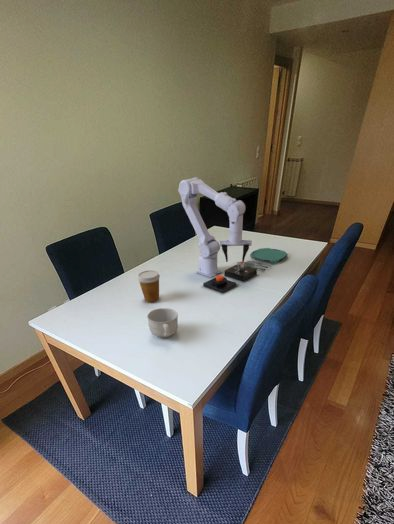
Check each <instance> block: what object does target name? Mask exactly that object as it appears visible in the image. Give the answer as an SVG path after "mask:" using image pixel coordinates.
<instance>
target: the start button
mask: <svg viewBox="0 0 394 524" xmlns="http://www.w3.org/2000/svg"><path fill="white" fill-rule="evenodd" d="M215 277H216V281H223V280H224V277H225V276H224V274H223V275H222V274H217V275H215Z"/></svg>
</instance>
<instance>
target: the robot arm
mask: <svg viewBox="0 0 394 524" xmlns="http://www.w3.org/2000/svg"><path fill="white" fill-rule="evenodd" d="M177 191H178V193H179V195H180V198H181V204H182V207H183V209H184V211H185V214H186V215H187V216H188V219H189V221H190V224H191V225H192V227H193V229H194V231H195V233H196V235H197V238H198V240H199V241H198V244H197V246H198V248H199V254H200V255H199V257H198V271H197V274H201V275H203V276H206V277H209V278H212V277H213V278H214V277H216V276H217V275H220V274H221V273H222V271H221V270H218V256H219V255H218V254H219V253H218V252H220V250H221V249H222V252H223V254H224V258H225V263H228V261H229V260H228V259H229V258H228V257H229V255H228V247H242V258H241V259H242V260H241V262H245V258H246V256H247V253H248V251H249V250H250V247H252V245H253V241H252V240H251V239H249V240H247V239H243V225H244V224H243V222H244V214H245V212H246V208H247V207H246V204H245V203H244V201H243V200H240V199H239V200H237V199H236V198H233V197H232V196H229V195H228V192H226V191H224V192H222V191H221V192H218V191H216V190H215V189H214V188H212V187H210V186H209V185H208V184H206V183H205V182H204V181H203V180H202V179H200V178H199V177H197V176H195V177H192V178H187V179H183V180H181V181H180V182H179V184H178V190H177ZM199 194H201V195H203V196H205V197H207V198H208V199H210V200H212V201H214V203H215V205H216V207H218V208H220V209H221V210H223V211H224V212H226V213H227V216H228V220H229V234H228V235H229V238H228V239H227V240H219V242H218V240H217V239H216V237H215V236H214V235H212V234H210V232H209V231H208V230H209V229H208V228H207V226H206V223H205V222H204V220H203V217H202V215H201V213H200V211H199V209H198V207H197V205H196V200H197V197H199V196H198V195H199Z"/></svg>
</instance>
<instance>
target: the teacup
mask: <svg viewBox="0 0 394 524" xmlns="http://www.w3.org/2000/svg"><path fill="white" fill-rule="evenodd" d="M178 317H179V314H178V312H177V311H176V310H175V309H172V308H170V307H169V308H168V307H162V308H161V307H160V308H155V309H152V310H151V311H149V312H148V313H147V316H146V318H147V323H148V328H149V331H150V333H151V334H152V335H153V336H156V337H157V338H168V337H171V336H172V335H174V334H175V333H176V332H177V330H178V326H179V325H178V322H179V321H178Z"/></svg>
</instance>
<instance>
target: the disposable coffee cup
mask: <svg viewBox="0 0 394 524" xmlns="http://www.w3.org/2000/svg"><path fill="white" fill-rule="evenodd" d="M160 276H161V275H160V274H159V272H158V271H156V270H153V269H148V270H147V269H146V270H143V271H141V272H139V273H138V274H137V278H136V279H137V281H138V283H139V285H140V288H141V292H142V295H143V298H144V301H145V303H149V304H152V303H153V304H154V303H157V302H159V300H160Z"/></svg>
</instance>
